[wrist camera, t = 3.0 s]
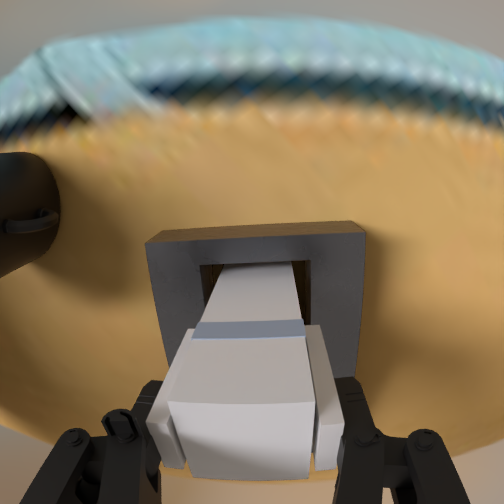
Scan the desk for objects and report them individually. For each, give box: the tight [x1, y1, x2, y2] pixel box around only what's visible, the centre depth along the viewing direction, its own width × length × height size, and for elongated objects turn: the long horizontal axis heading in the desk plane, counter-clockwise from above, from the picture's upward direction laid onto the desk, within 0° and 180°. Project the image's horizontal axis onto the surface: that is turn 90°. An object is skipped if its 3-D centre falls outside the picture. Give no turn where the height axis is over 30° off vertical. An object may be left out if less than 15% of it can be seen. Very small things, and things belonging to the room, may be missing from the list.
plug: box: [167, 261, 315, 481], centre depth 16 cm, size 5×5×14 cm
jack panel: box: [145, 221, 366, 453], centre depth 22 cm, size 13×19×4 cm
